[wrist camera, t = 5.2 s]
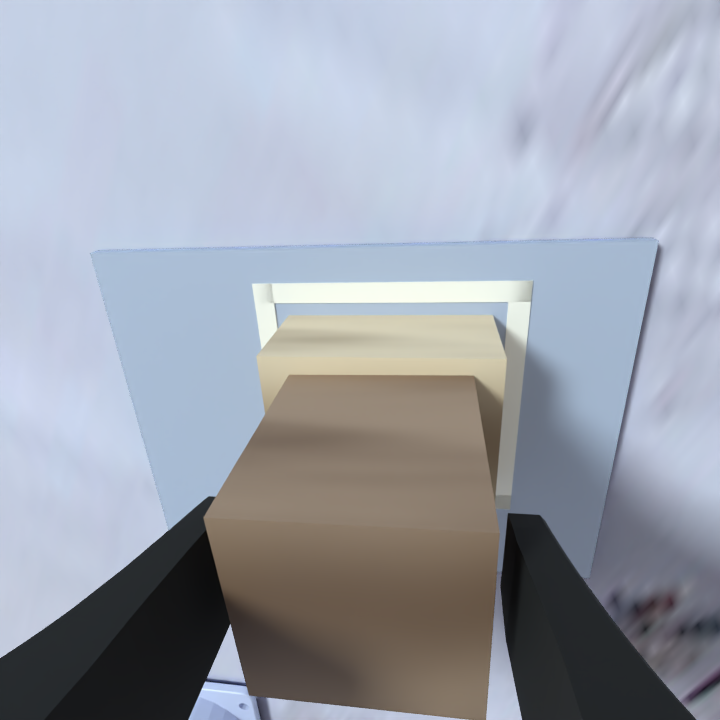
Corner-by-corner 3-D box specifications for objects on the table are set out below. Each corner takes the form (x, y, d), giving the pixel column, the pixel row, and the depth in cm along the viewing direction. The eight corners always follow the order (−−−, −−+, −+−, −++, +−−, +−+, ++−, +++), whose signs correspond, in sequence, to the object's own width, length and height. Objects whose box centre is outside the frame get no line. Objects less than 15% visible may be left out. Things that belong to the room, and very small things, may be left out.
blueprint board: (586, 569, 18) (589, 579, 17) (178, 540, 20) (173, 548, 20) (652, 237, 13) (659, 241, 12) (98, 250, 15) (89, 253, 15)
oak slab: (481, 483, 16) (490, 552, 14) (307, 475, 17) (284, 538, 14) (492, 315, 14) (506, 359, 11) (288, 315, 15) (256, 356, 12)
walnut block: (468, 522, 13) (485, 721, 9) (308, 514, 14) (248, 695, 9) (473, 375, 11) (499, 532, 7) (289, 374, 12) (202, 517, 8)
